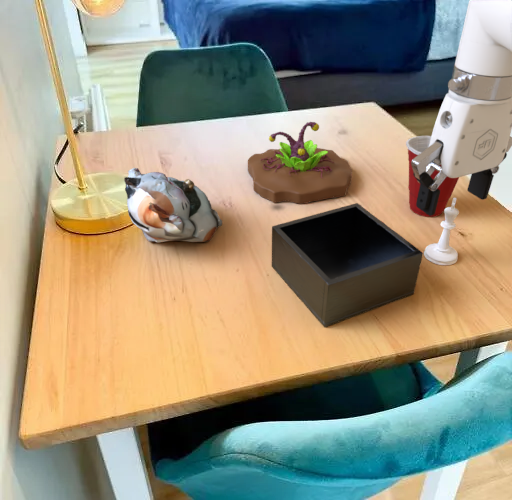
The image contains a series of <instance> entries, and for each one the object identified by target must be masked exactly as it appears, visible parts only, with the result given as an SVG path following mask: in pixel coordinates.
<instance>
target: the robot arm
mask: <svg viewBox="0 0 512 500" xmlns="http://www.w3.org/2000/svg"><path fill="white" fill-rule="evenodd" d="M447 87H448V88H447V89H448V92H447V93H446V94H445V96H444V98H443V101H442V103H441V106H440V108H439V110H438V114H437V117H436V120H435V123H434V125H433V128H432V133H431V135H430V136H431V139H430V144H429V147H428V148H427V149H426V150H424V151H423V152H422V153H420V154H419V155H418V156H416V157H415V158H414V159H413V160H412V161H411V165H412V169H413V172H414V173H413V175H414V177H415V178H416V179H417V181H418V182H419V183H420V188H419V192H418V197H417V202H416V206H417V207H418V208H419V209H421V210H422V211H423V212H425V213H426V214H428V215H429V216H432V215H434V214H435V211H436V207H437V203H438V199H439V195H440V190H439V189H437V188H438V187H439V186H440V184H441V183H442V182H443V181H444V179H445V178H446V177H447V176H448V177H450V178H458V177H459V178H462V177H465V176H470V178H469V181H468V186H467V192H468V193H470V194H471V195H474V196H475V197H477V198H478V199H480V200H482V201H483V200H487V199H488V195H489V193H490V189H491V186H492V183H493V179H494V177H495V175H496V174H497V173H498V172H499V170H500V165H501V164H502V163H503V162H504V160H505V159H506V158H507V156H508V152H509V151H510V149H511V148H512V136H511V134H512V0H468V4H467V8H466V13H465V18H464V22H463V26H462V31H461V34H460V38H459V44H458V48H457V53H456V57H455V62H454V65H453V69H452V74H451V79H449V81H448V82H447ZM427 165H428V166H427ZM439 165H441V166H442V167H441V166H439ZM434 170H437V171H438V172H439V173H438V174H437V176H436V177H435V178H434V179H432V178H431V176H430V175H431V174H432V173H433V172H434Z"/></svg>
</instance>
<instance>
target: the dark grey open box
mask: <svg viewBox="0 0 512 500" xmlns="http://www.w3.org/2000/svg"><path fill="white" fill-rule="evenodd" d="M423 256H424V251H421V250H420V249H419V248H418V247H416V246H415V245H414V244H412V243H411V242H410V241H408V240H407V239H406V238H404V237H403V236H402V235H400V234H399V233H398V232H396V231H395V230H393V229H392V228H391V227H390V226H388V225H387V224H385V223H384V222H383V221H382V220H381V219H380V218H378V217H377V216H376V215H373V213H371V212H370V211H368V210H367V209H366V208H364V207H363V206H362V205H360V203H358V202H356V203H351V204H349V205H345V206H340V207H337V208H334V209H329V210H327V211H322V212H320V213H316V214H312V215H307V216H305V217H301V218H297V219H294V220H290V221H286V222H283V223H280V224H279V223H278V224H276V225H272V226H271V268H272V269H273V270H274V271H275V272H276V274H278V276H279V277H280V278H281V279H282V281H283V282H284V283H285V284H286V285H287V286H288V288H289V289H290V290H291V291H292V292H293V293H294V294H295V295H296V296H297V298H298V299H299V300H300V301H301V302H302V303H303V305H304V306H305V307H306V308H307V309H308V310H309V312H310V313H311V314H312V315H313V316H314V317H315V318H316V319H317V321H318V322H319V323H320V324H321V326H322V327H323V328H328V327H329V326H333V325H335V324H338V323H341V322H344V321H346V320H348V319H352V318H354V317H357V316H359V315H362V314H365V313H368V312H370V311H374V310H376V309H379V308H381V307H383V306H386V305H389V304H392V303H394V302H398V301H400V300H403V299H406V298H407V297H411V296H413V295H415V290H416V286H417V281H418V277H419V273H420V269H421V265H422V260H423Z"/></svg>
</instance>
